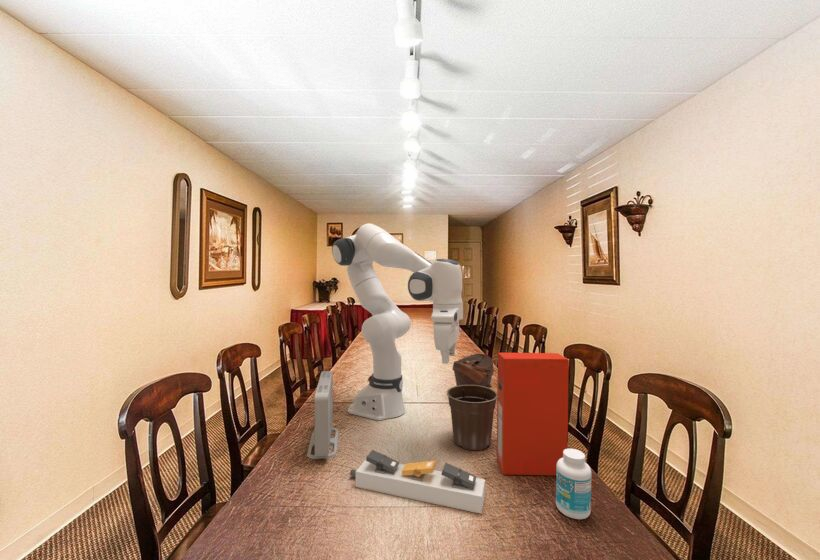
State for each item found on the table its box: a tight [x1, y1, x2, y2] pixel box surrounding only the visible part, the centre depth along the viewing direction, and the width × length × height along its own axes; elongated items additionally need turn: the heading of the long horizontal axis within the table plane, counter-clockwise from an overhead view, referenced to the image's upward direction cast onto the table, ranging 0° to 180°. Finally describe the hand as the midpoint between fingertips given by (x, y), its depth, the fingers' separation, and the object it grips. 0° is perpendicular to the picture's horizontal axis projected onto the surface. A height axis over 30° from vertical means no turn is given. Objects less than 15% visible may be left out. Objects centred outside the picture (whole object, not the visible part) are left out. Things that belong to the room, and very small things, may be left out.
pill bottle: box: [555, 448, 593, 520], centre depth 82 cm, size 8×7×14 cm
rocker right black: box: [441, 462, 477, 489], centre depth 86 cm, size 8×4×2 cm, turn 73°
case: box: [452, 353, 494, 389], centre depth 154 cm, size 18×20×18 cm
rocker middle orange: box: [402, 460, 437, 477], centre depth 89 cm, size 8×4×2 cm, turn 72°
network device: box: [306, 370, 340, 460], centre depth 113 cm, size 26×9×20 cm, turn 9°
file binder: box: [496, 352, 570, 476], centre depth 99 cm, size 8×17×32 cm, turn 89°
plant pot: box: [446, 385, 497, 451], centre depth 115 cm, size 16×16×16 cm
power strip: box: [349, 459, 486, 515], centre depth 89 cm, size 35×7×4 cm, turn 72°
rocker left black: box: [365, 449, 400, 474], centre depth 92 cm, size 8×4×2 cm, turn 73°
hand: (448, 359), depth 105 cm, fingers open, 8 cm apart
